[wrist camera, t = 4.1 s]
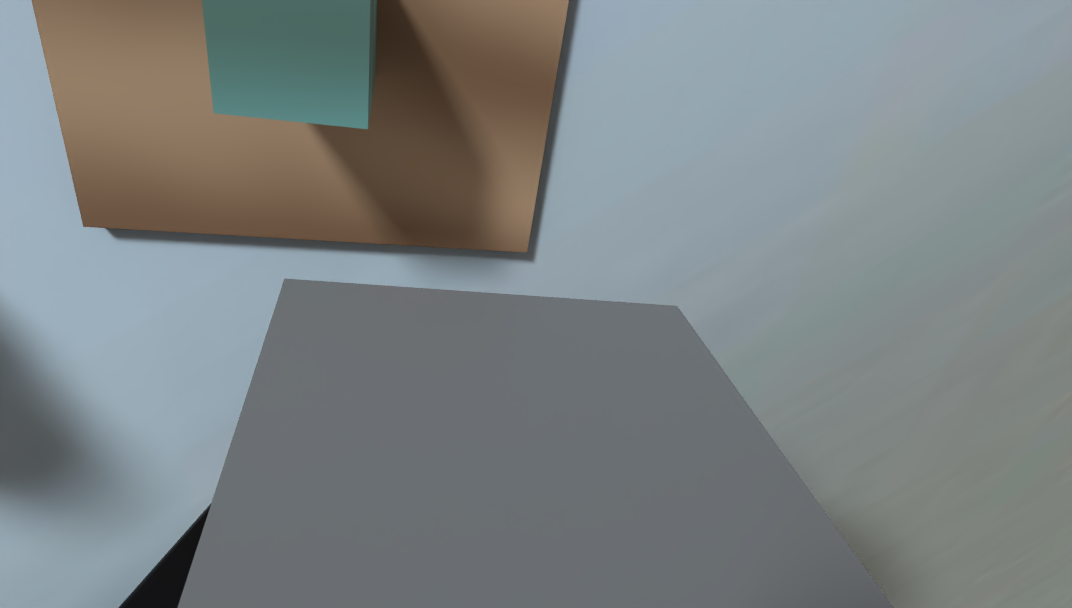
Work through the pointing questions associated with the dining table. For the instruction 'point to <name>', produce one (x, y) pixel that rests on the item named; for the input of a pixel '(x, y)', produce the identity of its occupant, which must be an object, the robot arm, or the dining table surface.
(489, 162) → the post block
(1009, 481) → the dining table surface
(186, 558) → the robot arm
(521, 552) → the grey rectangular block
